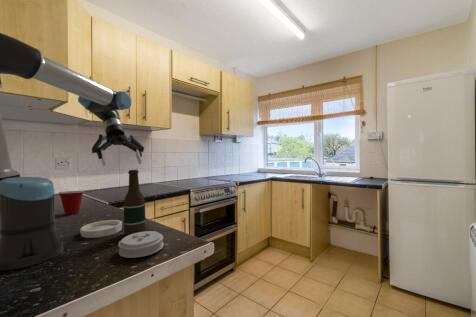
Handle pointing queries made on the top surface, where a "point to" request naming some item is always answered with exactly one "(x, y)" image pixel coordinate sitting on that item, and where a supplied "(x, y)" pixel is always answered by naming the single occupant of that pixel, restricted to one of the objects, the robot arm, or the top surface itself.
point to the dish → (101, 229)
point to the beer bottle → (134, 207)
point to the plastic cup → (71, 201)
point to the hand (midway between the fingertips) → (123, 162)
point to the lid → (140, 244)
